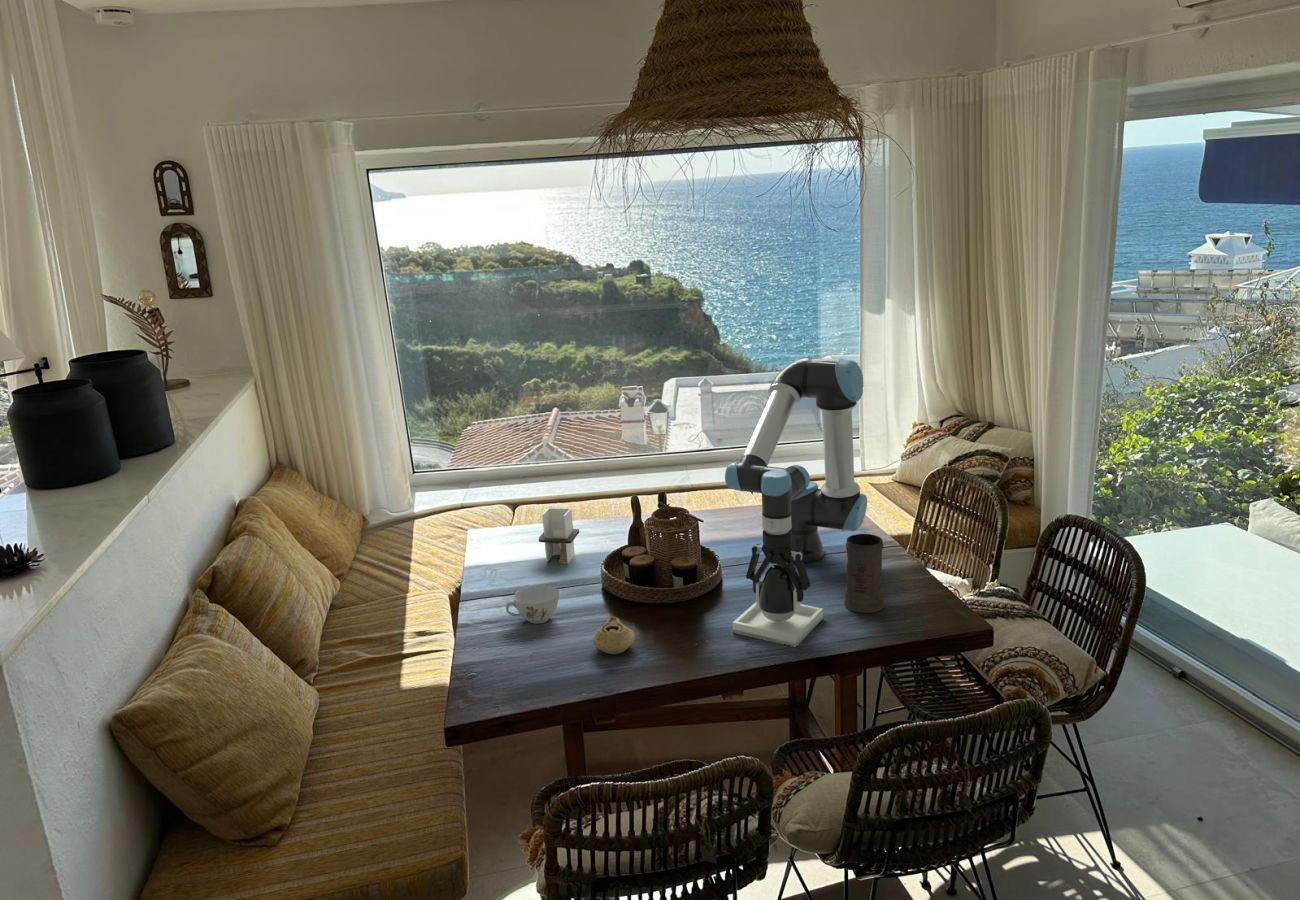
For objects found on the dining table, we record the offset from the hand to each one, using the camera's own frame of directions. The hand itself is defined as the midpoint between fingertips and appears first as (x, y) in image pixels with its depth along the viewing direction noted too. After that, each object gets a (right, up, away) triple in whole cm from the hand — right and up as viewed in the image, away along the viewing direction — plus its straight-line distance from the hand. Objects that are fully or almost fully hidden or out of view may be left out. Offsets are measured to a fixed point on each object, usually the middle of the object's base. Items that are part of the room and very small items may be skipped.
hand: (778, 607), depth 251 cm
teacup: (-67, -6, +12) cm, 68 cm away
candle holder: (-63, +6, +55) cm, 84 cm away
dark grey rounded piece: (0, -3, +1) cm, 3 cm away
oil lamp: (-44, -10, -5) cm, 45 cm away
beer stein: (+26, -1, +13) cm, 29 cm away
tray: (0, -5, +1) cm, 5 cm away
